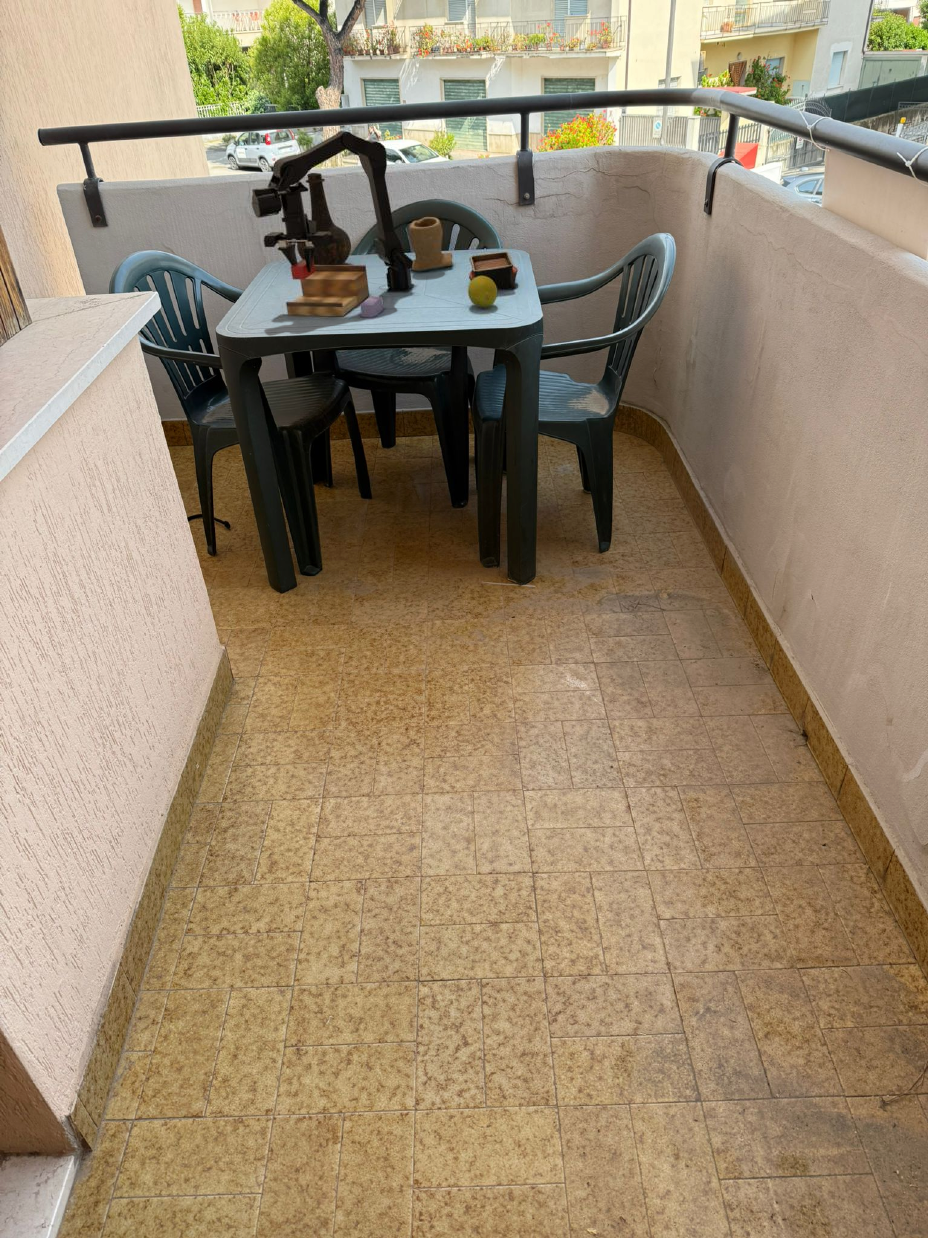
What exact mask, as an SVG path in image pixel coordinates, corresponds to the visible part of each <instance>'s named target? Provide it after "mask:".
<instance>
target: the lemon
mask: <svg viewBox="0 0 928 1238" xmlns="http://www.w3.org/2000/svg"><path fill="white" fill-rule="evenodd" d="M467 294H468V298H469V300H470V302H471V303H472V304H473V305H475V306H476V307H479V308H489V307H491V306H493V305H494V303H495V302H496V300H497V297H498V289H497V287H496V285H495V283H494V282H493V280H491V279H490V278H488V277H486V276H478V277H476V278H474V279H473V280H472V281H471V280H470V282H469V284H468V288H467Z"/></svg>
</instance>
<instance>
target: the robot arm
mask: <svg viewBox="0 0 928 1238" xmlns="http://www.w3.org/2000/svg"><path fill="white" fill-rule="evenodd" d="M346 150H347V151H348V152H350V153H352V154H354V155H356V156H358V159H359V162H360V166H361V168H362V169H363V171H364V173H365V175H366V177H367V179H368V184H369V189H370V193H371V199H372V204H373V208H374V210H373V211H374V214H375V215H374V216H375V219H376V224H377V228H378V234H377V238H373V240H372V241H373V244H374V247H375V252H374V253H375V254H376V255H377V256H378V258H379V259H380V260H381V261H383V264H384V265H385V267H387V268H386V270H387V272H386V274H385V276H386V277H385V278H386V284H387V290H386V291H387V292H408V291H410V290H411V289H412V288H413V287H414V286H415V284H414V283H413V282H412V273H411V270H412V269H411V268H412V264H413V260H414V259H412V258H411V257H409V256H408V255H407V254H406V253H405V250H404V246H403V244H402V240H401V238H400V237H399V235H398V233H397V231H396V229H395V224H394V218H393V213H392V207H391V203H390V197H389V191H388V186H387V181H386V172H387V166H388V160H387V159H388V157H387V149H386V147H385V145H384V144H382V142H379V141H374V140H369V139H364V138H363V137H362V138H361V137H359V136H357V135H355V134H353V133H351V132H350V131H347V130H340V131H338V132H337V133H336V134H333V135H332V136H330V137H329V138H327V139H325V140H322V141H321V142H319V143H317V144H316V145H314V146H312V147H310V148H307V150H305V151H303V152H301V153H297V154H292V155H288V156H287V155H286V156H284V157H281V158H279V159H276V160H275V161H274V163H273V165H272V166H273V167H272V175H271V177H270V180H269V182H268V185H267V187H263V188H253V189H251V191H252V195H251V206H252V210H253V213H254V215H255V217H256V218H257V219H260V218H266V217H272V216H277V215H279V214H280V212H282V216H283V217H281V223H284V227H285V233H284V232H283V231H271V232H269V233H267V234H265V235H264V237H263V246H264V248H275V247H276V245H278V248H277V251H281V253H282V254H283V255H284V257H285V258H286V260H287V261H288V262H289V264H290V266H293V265H294V264H296V263H298V258H297V254H296V246H297V243H306V247H305V248H303V251H304V256H305V261H306V266H307V269H308V272H309V273H310V272H311V270H312V264H313V258H314V253H315V250H316V248H318V247H326V246H328V245H330V244H331V243H333V242H334V241H333V236H332V234H331V233H330V232H317V233H316V222H315V221H312V220H311V219H309V217H308V214H307V212H306V213H305V209H304V201H303V196H302V193H305V192H309V188H308V187H307V186H306V185H305V184H303V182H302V181H301V180H303V179H304V178H305V177H307V174H309V172H310V171H311V170H312V169H313V168H316V167H317V166H319V165H320V164H322V163H324V162H326V161H327V160H330V159H331V158H334V157H335V156H338V155H339V154H340V153H342V152H344V151H346ZM308 234H314V235H308ZM302 239H304V240H302Z"/></svg>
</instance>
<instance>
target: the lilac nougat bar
mask: <svg viewBox="0 0 928 1238" xmlns="http://www.w3.org/2000/svg"><path fill="white" fill-rule="evenodd" d="M383 303H384V301H383V296H368V297H367V298H366V299H364V300H363V301H362V302H361V303H360V305H359V306H360V313H361V318H376V317H377V315H378V314H380V313H381V312H382V311H384V304H383Z"/></svg>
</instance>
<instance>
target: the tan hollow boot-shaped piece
mask: <svg viewBox="0 0 928 1238" xmlns="http://www.w3.org/2000/svg"><path fill="white" fill-rule="evenodd" d="M408 232H409V234H408V235H409V241H410V244H411V247H412V249H413V252H414V256H415V259H412V260H413V264H412V268H411V269H410V270H413V271H416V272H417V271H418V272H419V271H420V272H421V271H429V270H435V269H440V268H447V267H451V266H453V253H452V252H446V253H443V252H442V244H443V234H444V233H443V232H444V231H443V227H442V224H441V221H440V220H439V219H438V218H437V217H434V216H425V217H422V218H420V219H417V220H413V221H412V222H411V223H410V224H409V227H408Z"/></svg>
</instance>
